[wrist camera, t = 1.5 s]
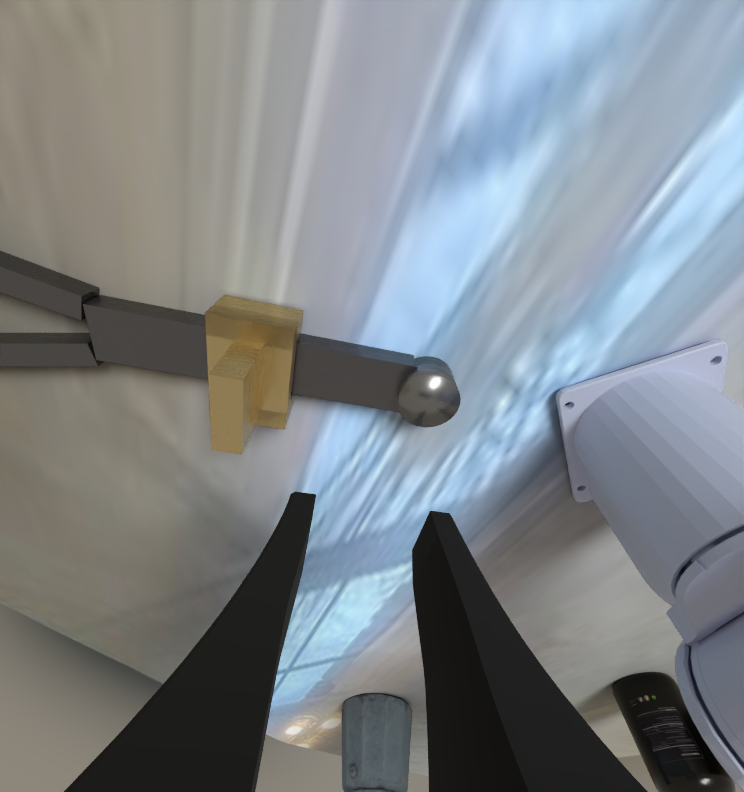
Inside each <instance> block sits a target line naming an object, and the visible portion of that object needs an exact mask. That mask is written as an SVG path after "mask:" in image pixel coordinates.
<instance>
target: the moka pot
mask: <svg viewBox="0 0 744 792" xmlns="http://www.w3.org/2000/svg"><path fill="white" fill-rule="evenodd" d="M411 725H412V710H411V707H410V706H409V705H408V704H407V703H406V702H405V701H403V700H401V699H399V698H395V697H391V696H389V695H383V694H363V695H358V696H354V697H351V698H349V699H348V700H346V701H345V702H344V704H343V708H342V787H343V790H344V792H407V789H408V773H409V756H410V739H411Z"/></svg>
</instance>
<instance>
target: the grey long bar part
mask: <svg viewBox="0 0 744 792" xmlns="http://www.w3.org/2000/svg"><path fill="white" fill-rule="evenodd" d="M0 292H1V293H4V294H7V295H10V296H13V297H16V298H19V299H21V300H24V301H27V302H30V303H33V304H36V305H38V306H41V307H44V308H47V309H50V310H53V311H56V312H58V313H61V314H64V315H67V316H70V317H73V318H75V319H78V320H81V321H82V320H83V319H85V318H86V319H87V324H88V328H89V332H90V333H0V366H99V365H100V364H102V363H103V362H104V361H105V362H111V363H117V364H123V365H128V366H134V367H140V368H146V369H152V370H157V371H163V372H169V373H175V374H181V375H186V376H192V377H198V378H204V379H208V363H207V342H206V321H205V315H201V314H196V313H191V312H185V311H180V310H175V309H170V308H165V307H159V306H154V305H149V304H144V303H139V302H133V301H128V300H123V299H118V298H112V297H107V296H102V295H99V288H98V287H95V286H93V285H90V284H87V283H85V282H82V281H79V280H77V279H74V278H71V277H69V276H66V275H63V274H61V273H58V272H55V271H52V270H50V269H47V268H44V267H42V266H39V265H36V264H34V263H31V262H28V261H26V260H23V259H20V258H18V257H15V256H12V255H10V254H7V253H4V252H2V251H0ZM291 394H297V395H303V396H308V397H314V398H320V399H326V400H332V401H337V402H343V403H349V404H355V405H361V406H366V407H372V408H378V409H384V410H390V411H395V412H400V413H401V414H402V416H403V417H404V418H405V419H406V420H407V421H408V422H410V423H411V424H413V425H416V426H420V427H433V426H438V425H441V424H443V423H445V422H447V421H448V420H450V419H451V418H452V417H453V416H454V415H455V413H456V412H457V410H458V408H459V405H460V394H459V391H458V388H457V386H456V383H455V380H454V377H453V375H452V372H451V370H450V368H449V366H448V365H447V364H446V363H445V362H443V361H442V360H440V359H438V358H434V357H419V358H416V359H414V356H413V355H410V354H404V353H399V352H394V351H389V350H384V349H378V348H373V347H368V346H363V345H358V344H352V343H347V342H342V341H337V340H331V339H326V338H321V337H316V336H311V335H305V334H299V337H298V339H297V343H296V353H295V362H294V372H293V382H292V391H291Z"/></svg>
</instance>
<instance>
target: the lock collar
mask: <svg viewBox="0 0 744 792" xmlns="http://www.w3.org/2000/svg"><path fill="white" fill-rule="evenodd" d="M302 320H303V310H300V309H295V308H290V307H285V306H280V305H275V304H270V303H265V302H260V301H255V300H250V299H245V298H240V297H235V296H230V295H224V296H222V297H221V298H220V299H219V300H218V301H217V302H216V303H215V304H214V305H213V306H212V307H211V308H210V309H209V310H208V311H206V312H205V321H206V342H207V363H208V383H209V404H210V418H211V439H212V450H217V451H223V452H230V453H237V454H243V451H244V449H245V447H246V444H247V442H248V440H249V438H250V435H251V433H252V431H253V428H254V426H255V425H260V426H266V427H272V428H278V429H285V428H286V425H287V421H288V418H289V415H290V412H291V409H292V406H293V402H294V394H291V391H292V382H293V372H294V362H295V353H296V343H297V339H298V337H299V334H300V332H301V329H302Z"/></svg>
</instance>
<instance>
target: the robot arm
mask: <svg viewBox="0 0 744 792" xmlns="http://www.w3.org/2000/svg"><path fill="white" fill-rule="evenodd" d="M727 352H728V345H727V344H726V343H724V342H722V341H720V340H713V341H709V342H706V343H703V344H700V345H697V346H694V347H691V348H687V349H684V350H681V351H678V352H675V353H672V354H669V355H666V356H662V357H659V358H656V359H653V360H650V361H647V362H644V363H640V364H637V365H634V366H631V367H628V368H625V369H622V370H619V371H615V372H612V373H609V374H606V375H603V376H600V377H597V378H594V379H590V380H587V381H584V382H581V383H578V384H575V385H572V386H568V387H565V388H563V389H561V390H560V391H558V392H557V394H556V403H557V408H558V414H559V420H560V426H561V431H562V437H563V443H564V449H565V455H566V460H567V466H568V472H569V478H570V483H571V489H572V495H573V498H574V499H575V501H576V502H579V503H583V502H588V501H592V500H593V501H594V502H595V504H596V506H597V507H598V509H599V510H600V512H601V513H602V515H603V516H604V518H605V520H606V521H607V523H608V524H609V526H610V527H611V529H612V530H613V532H614V534H615V535H616V537H617V538H618V540H619V541H620V543H621V545H622V546H623V548H624V549H625V551H626V552H627V554H628V555H629V557H630V559H631V560H632V562H633V563H634V565H635V566H636V568H637V569H638V571H639V573H640V574H641V576H642V577H643V579H644V580H645V581H646V583H647V584H648V585H649V586H650V588H651V589H652V590H653V591H654V592H655V593H656V594H657V595H658V596H660V597H661V598H662V599H663V600H664V601H666V602H667V603H668V604H670V605H671V606H672V608H670V609H669V610H668V611H667V615H668V617H669V618H670V620H671V621H672V623H673V624H674V626H675V627H676V629H677V631H678V632H679V634H680V635H681V637H682V638H683V641H682V642H681V644H680V645H679V647H678V649H677V652H676V656H675V672H676V677H677V682H678V686H679V689H680V692H681V695H682V698H683V701H684V703H685V705H686V707H687V709H688V712H689V714H690V716H691V718H692V720H693V722H694V724H695V725H696V727H697V729H698V731H699V732H700V734H701V736H702V738H703V739H704V741H705V742H706V744H707V745H708V747H709V748H710V750H711V751H712V753H713V754H714V756H715V757H716V759H717V760H718V762H719V763H720V764H721V765H722V767H723V768H724V769H725V771H726V772H727V773H728V775H729V776H730V777H731V779H732V780H733V781H734V782H735V783H736V784H737V786H738V787H739V788H740V789H741V790H742V791H743V792H744V407H743V406H741V405H740V404H738V403H737V402H735V401H734V400H732V399H731V398H729V397H728V396H726V395H725V394H723V393H722V389H723V381H724V374H725V366H726V359H727ZM714 357H715V358H714ZM713 358H714V359H713ZM712 359H713V360H712ZM568 402H570V403H569V404H568V405H565V404H566V403H568ZM564 405H565V406H564ZM315 497H316V495H315V494H308V493H301V492H294V493H292V494H291V495H290V498H289V501H288V504H287V506H286V508H285V511H284V513H283V515H282V517H281V519H280V521H279V523H278V525H277V527H276V529H275V530H274V532H273V534H272V536H271V538H270V539H269V541H268V543H267V544H266V546H265V548H264V549H263V551H262V553H261V555H260V556H259V558H258V560H257V561H256V563H255V564H254V566H253V567H252V569H251V570H250V572H249V573H248V575H247V576H246V578H245V579H244V581H243V582H242V584H241V585H240V587H239V588H238V590H237V591H236V593H235V594H234V595H233V597H232V598H231V600H230V601H229V602H228V604H227V605H226V607H225V608H224V609H223V611H222V612H221V613H220V615H219V616H218V617H217V619H216V620H215V621H214V623H213V624H212V625H211V627H210V628H209V629H208V631H207V632H206V633H205V634H204V636H203V637H202V638H201V639H200V641H199V642H198V643H197V644H196V646H195V647H194V648H193V649H192V651H191V652H190V653H189V654H188V656H187V657H186V658H185V659H184V660H183V662H182V663H181V664H180V665H179V666H178V668H177V669H176V670H175V671H174V672H173V674H172V675H171V676H170V677H169V678H168V679H167V681H166V682H165V683H164V684H163V685H162V686H161V688H160V689H159V690H158V691H157V692H156V693H155V694H154V695H153V696H152V698H151V699H150V700H149V701H148V702H147V703H146V704H145V705H144V707H143V708H142V709H141V710H140V711H139V712H138V713H137V715H136V716H135V717H134V718H133V719H132V720H131V721H130V723H129V724H128V725H127V726H126V727H125V728H124V729H123V730H122V731H121V732H120V733H119V735H118V736H117V737H116V738H115V739H114V740H113V741H112V742H111V743H110V744H109V745H108V746H107V747H106V748H105V749H104V750H103V752H102V753H100V755H99V756H98V757H97V758H96V759H95V760H94V761H93V762H92V763H91V764H90V765H89V766H88V767H87V768H86V769H85V770H84V771H83V772H82V773H81V774H80V775H79V776H78V778H77V779H76V780H75V781H74V782H73V783H72V784H71V785H70V786H69V787H68V788H67V789H66V790H65V791H64V792H255V789H256V783H257V778H258V772H259V767H260V761H261V756H262V751H263V745H264V740H265V734H266V729H267V723H268V718H269V712H270V707H271V701H272V696H273V691H274V685H275V680H276V674H277V670H278V665H279V661H280V656H281V652H282V648H283V644H284V641H285V637H286V633H287V629H288V625H289V621H290V617H291V613H292V610H293V606H294V602H295V598H296V594H297V590H298V586H299V582H300V579H301V575H302V570H303V565H304V559H305V554H306V549H307V543H308V538H309V532H310V527H311V521H312V516H313V510H314V503H315ZM412 567H413V589H414V597H415V605H416V613H417V621H418V629H419V636H420V644H421V652H422V659H423V667H424V677H425V688H426V709H427V732H428V763H429V792H647V791H646V789H644V787H643V786H642V785H641V784H640V783H639V782H638V781H637V780H636V779H635V778H634V777H633V776H632V775H631V773H629V771H628V770H627V769H626V768H625V767H624V766H623V765H622V763H621V762H620V761H619V760H618V759H617V758H616V757H615V755H614V754H613V753H612V752H611V751H610V750H609V749H608V747H607V746H606V745H605V744H604V743H603V742H602V741H601V739H600V738H599V737H598V736H597V735H596V734H595V732H594V731H593V730H592V729H591V727H590V726H589V725H588V724H587V723H586V721H585V720H584V719H583V718H582V716H581V715H580V714H579V713H578V712H577V710H576V709H575V708H574V707H573V705H572V704H571V703H570V702H569V701H568V699H567V698H566V697H565V696H564V694H563V693H562V692H561V691H560V689H559V688H558V687H557V685H556V684H555V683H554V681H553V680H552V679H551V677H550V676H549V675H548V673H547V672H546V671H545V670H544V668H543V667H542V666H541V664H540V663H539V661H538V660H537V659H536V657H535V656H534V654H533V653H532V652H531V650H530V649H529V647H528V646H527V645H526V643H525V642H524V640H523V639H522V637H521V636H520V634H519V633H518V631H517V630H516V628H515V627H514V625H513V624H512V622H511V621H510V619H509V617H508V616H507V614H506V613H505V611H504V610H503V608H502V606H501V605H500V603H499V602H498V600H497V598H496V597H495V595H494V593H493V592H492V590H491V588H490V587H489V585H488V583H487V581H486V580H485V578H484V576H483V574H482V573H481V571H480V569H479V567H478V566H477V564H476V562H475V560H474V558H473V557H472V555H471V553H470V551H469V549H468V547H467V545H466V544H465V542H464V540H463V538H462V536H461V534H460V532H459V530H458V528H457V526H456V524H455V522H454V520H453V518H452V516H451V515H450V514H449V513H442V512H435V511H430V513H429V515H428V517H427V519H426V521H425V524H424V526H423V528H422V530H421V532H420V534H419V537H418V539H417V541H416V543H415V545H414V547H413V550H412Z"/></svg>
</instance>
